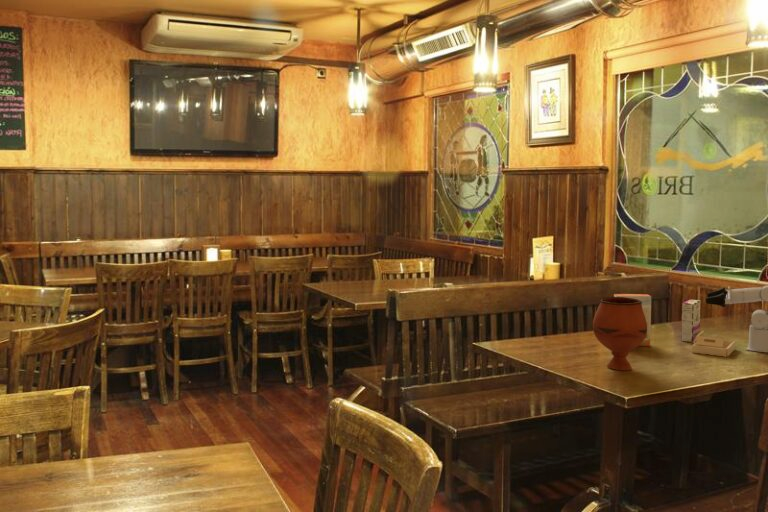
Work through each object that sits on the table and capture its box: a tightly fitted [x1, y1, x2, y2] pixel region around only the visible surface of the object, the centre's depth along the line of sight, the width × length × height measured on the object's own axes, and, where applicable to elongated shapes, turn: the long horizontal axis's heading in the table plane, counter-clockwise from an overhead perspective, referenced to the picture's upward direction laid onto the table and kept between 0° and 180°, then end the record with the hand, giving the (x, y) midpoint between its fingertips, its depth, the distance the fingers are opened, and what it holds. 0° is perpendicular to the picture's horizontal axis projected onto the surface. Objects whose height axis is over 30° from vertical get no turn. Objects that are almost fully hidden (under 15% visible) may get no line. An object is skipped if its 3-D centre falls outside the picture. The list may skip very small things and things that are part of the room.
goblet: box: [592, 296, 647, 371], centre depth 277 cm, size 19×19×25 cm
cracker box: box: [613, 293, 652, 347], centre depth 314 cm, size 14×6×21 cm, turn 84°
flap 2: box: [695, 335, 725, 347], centre depth 298 cm, size 3×10×1 cm
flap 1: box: [692, 330, 705, 344], centre depth 307 cm, size 3×13×1 cm
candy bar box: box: [680, 299, 702, 343], centre depth 324 cm, size 11×5×16 cm, turn 143°
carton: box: [691, 339, 736, 358], centre depth 304 cm, size 13×17×3 cm
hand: (706, 298), depth 313 cm, fingers open, 7 cm apart
